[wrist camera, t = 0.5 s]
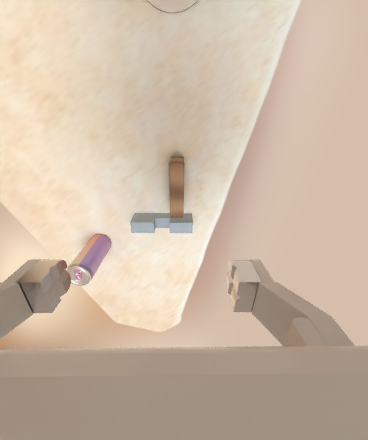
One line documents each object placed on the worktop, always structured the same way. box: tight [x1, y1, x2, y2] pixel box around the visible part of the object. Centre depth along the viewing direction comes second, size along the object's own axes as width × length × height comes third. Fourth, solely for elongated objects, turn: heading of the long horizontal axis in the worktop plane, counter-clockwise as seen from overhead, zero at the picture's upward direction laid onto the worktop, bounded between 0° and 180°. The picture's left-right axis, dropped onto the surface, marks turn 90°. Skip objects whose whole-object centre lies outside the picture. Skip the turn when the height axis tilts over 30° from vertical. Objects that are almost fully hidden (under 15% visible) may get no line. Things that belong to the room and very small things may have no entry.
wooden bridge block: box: [169, 157, 184, 218], centre depth 45 cm, size 12×3×10 cm, turn 179°
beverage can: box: [67, 234, 111, 286], centre depth 51 cm, size 6×6×15 cm
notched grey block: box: [130, 214, 193, 233], centre depth 52 cm, size 3×16×6 cm, turn 89°
